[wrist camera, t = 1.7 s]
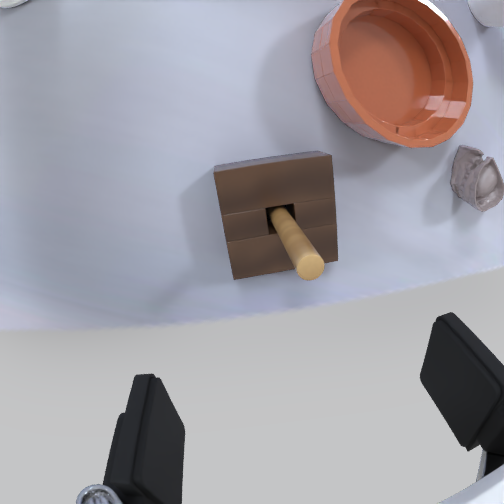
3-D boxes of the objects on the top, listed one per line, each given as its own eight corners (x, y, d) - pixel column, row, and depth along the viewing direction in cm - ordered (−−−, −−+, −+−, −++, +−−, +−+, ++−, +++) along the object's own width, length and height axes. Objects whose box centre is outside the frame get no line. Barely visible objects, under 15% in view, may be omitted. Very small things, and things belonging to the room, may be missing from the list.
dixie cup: (494, 46, 25) (545, 43, 16) (456, 8, 23) (507, -6, 14) (501, 11, 22) (546, 5, 13) (464, -26, 20) (509, -40, 11)
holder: (214, 166, 30) (213, 172, 26) (318, 150, 30) (331, 155, 26) (232, 262, 34) (233, 280, 30) (326, 245, 34) (338, 260, 31)
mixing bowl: (298, -2, 23) (314, -24, 18) (427, 13, 24) (457, 3, 18) (321, 146, 30) (343, 152, 24) (445, 140, 30) (477, 146, 25)
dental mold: (438, 163, 31) (464, 171, 27) (469, 136, 30) (496, 142, 26) (458, 213, 34) (481, 226, 30) (486, 186, 33) (510, 196, 29)
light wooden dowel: (264, 200, 32) (295, 257, 19) (281, 198, 32) (324, 252, 19) (266, 217, 32) (298, 283, 20) (283, 214, 32) (325, 277, 20)
